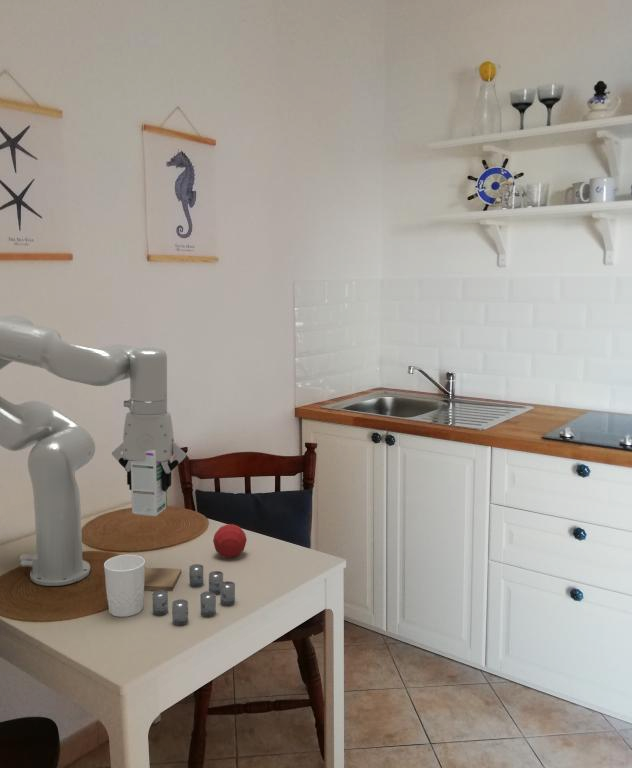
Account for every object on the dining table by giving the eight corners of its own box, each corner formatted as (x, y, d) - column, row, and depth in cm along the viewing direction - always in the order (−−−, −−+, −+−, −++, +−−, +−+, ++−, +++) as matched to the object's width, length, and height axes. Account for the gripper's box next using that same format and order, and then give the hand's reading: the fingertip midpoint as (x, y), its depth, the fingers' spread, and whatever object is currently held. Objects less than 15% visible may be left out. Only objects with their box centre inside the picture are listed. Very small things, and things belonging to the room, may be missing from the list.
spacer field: (146, 625, 137) (145, 605, 136) (169, 580, 156) (169, 563, 155) (227, 627, 137) (227, 608, 136) (240, 582, 156) (240, 565, 155)
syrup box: (156, 516, 150) (156, 450, 147) (130, 514, 151) (130, 447, 148) (167, 508, 155) (167, 443, 153) (142, 505, 156) (142, 441, 154)
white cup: (124, 622, 138) (123, 574, 136) (97, 611, 142) (95, 564, 140) (154, 606, 144) (153, 560, 143) (126, 596, 148) (125, 551, 147)
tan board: (121, 589, 151) (120, 585, 151) (132, 571, 160) (132, 567, 160) (172, 591, 151) (172, 586, 151) (181, 572, 160) (181, 568, 160)
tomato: (232, 528, 164) (232, 511, 171) (206, 547, 165) (206, 529, 172) (253, 550, 167) (252, 533, 174) (227, 569, 168) (227, 550, 175)
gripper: (102, 408, 145) (103, 492, 149) (186, 412, 145) (185, 496, 148) (113, 401, 153) (114, 481, 156) (193, 405, 152) (193, 485, 155)
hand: (149, 488), depth 152 cm, fingers closed on syrup box, 6 cm apart
